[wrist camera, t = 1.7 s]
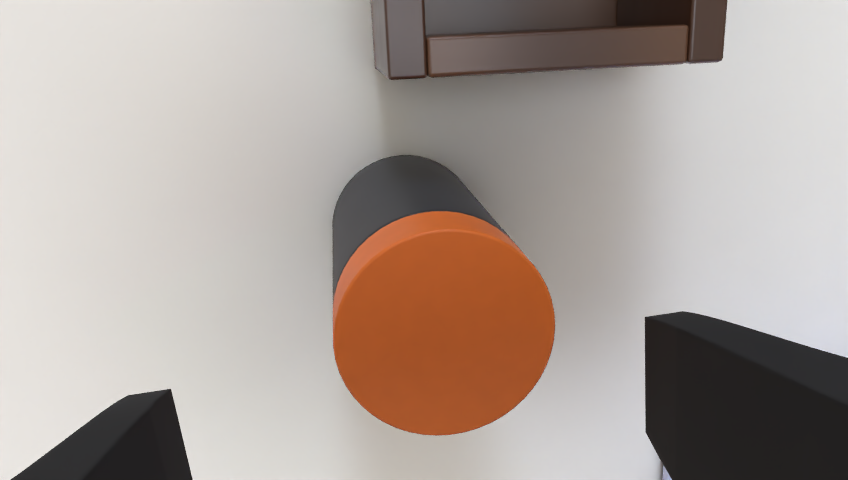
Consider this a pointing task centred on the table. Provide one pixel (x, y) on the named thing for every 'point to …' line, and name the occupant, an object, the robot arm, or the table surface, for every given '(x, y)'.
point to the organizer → (541, 35)
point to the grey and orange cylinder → (432, 302)
